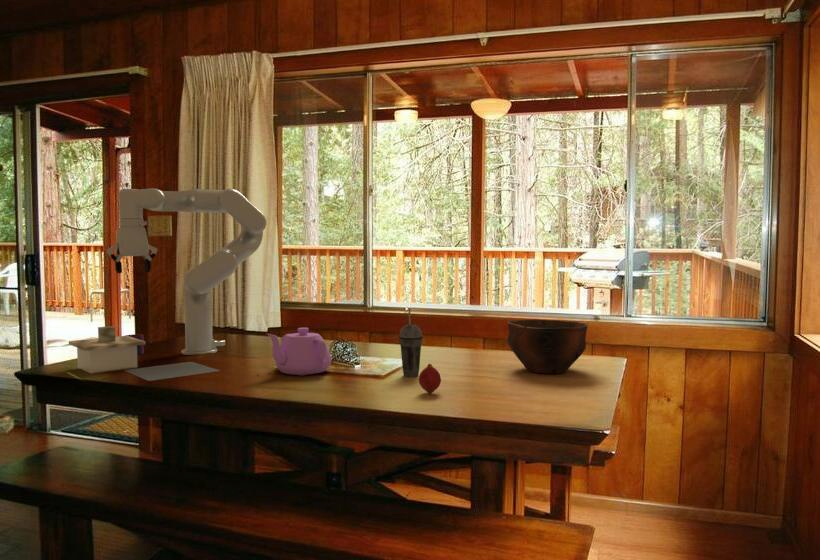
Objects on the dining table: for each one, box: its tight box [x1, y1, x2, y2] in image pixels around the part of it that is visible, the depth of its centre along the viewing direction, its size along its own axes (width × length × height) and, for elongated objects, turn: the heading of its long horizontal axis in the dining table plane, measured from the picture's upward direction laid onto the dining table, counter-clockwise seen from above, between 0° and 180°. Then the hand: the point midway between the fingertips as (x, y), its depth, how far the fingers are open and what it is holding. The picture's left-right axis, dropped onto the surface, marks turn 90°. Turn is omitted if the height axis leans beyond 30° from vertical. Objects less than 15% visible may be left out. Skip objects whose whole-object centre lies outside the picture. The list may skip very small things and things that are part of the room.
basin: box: [76, 345, 138, 374], centre depth 208 cm, size 14×14×8 cm
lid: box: [68, 325, 147, 351], centre depth 207 cm, size 18×18×6 cm
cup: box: [124, 333, 145, 356], centre depth 236 cm, size 7×10×7 cm
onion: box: [418, 363, 442, 394], centre depth 170 cm, size 6×6×8 cm
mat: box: [122, 361, 221, 382], centre depth 202 cm, size 22×22×1 cm
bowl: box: [506, 319, 589, 374], centre depth 201 cm, size 25×25×15 cm
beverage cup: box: [398, 309, 424, 378], centre depth 194 cm, size 7×7×20 cm
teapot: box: [267, 327, 332, 377], centre depth 199 cm, size 22×22×14 cm
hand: (133, 272), depth 229 cm, fingers open, 9 cm apart
